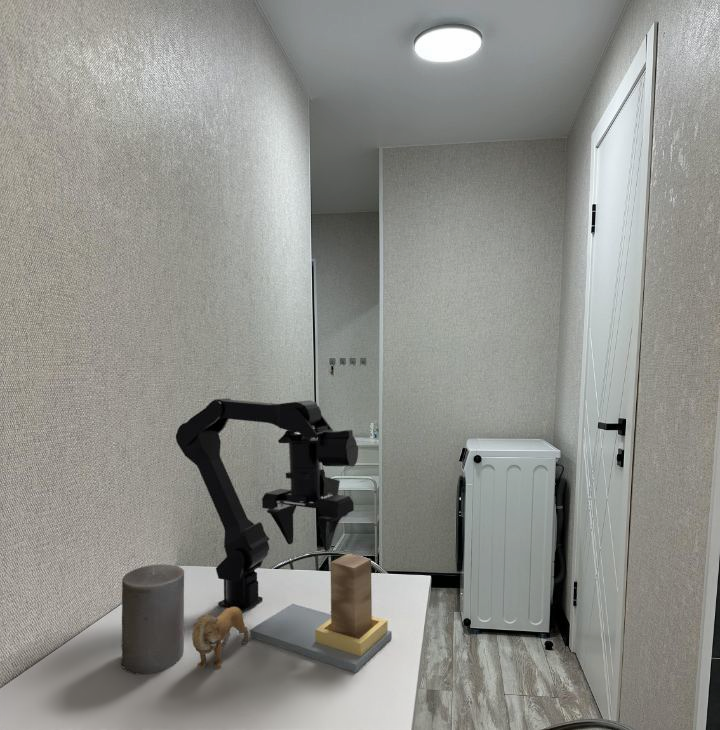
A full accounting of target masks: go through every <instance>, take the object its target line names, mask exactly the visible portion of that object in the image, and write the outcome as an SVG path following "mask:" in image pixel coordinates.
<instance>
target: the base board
mask: <svg viewBox="0 0 720 730" xmlns="http://www.w3.org/2000/svg"><path fill="white" fill-rule="evenodd" d="M388 623H389V621H388V619H384V618H380V617H376V616H372V628H371V629H370V630H369V631H368V632H367V633H366V634H364V635H363V636H362V637H361V638H360V639H356V638H353V637H349V636H346V635H343V634H339V633H336V632H333V631H331V613H327V612H323V611H320V610H316V609H312V608H309V607H306V606H302V605H300V604H299V605H298V604H296V603H291V604H290V605H288V606H286V607H284V608H283V609H281V610H280V611H278V612H276V613H275V614H273V615H272V616H270V617H269V618H267V619H265V620H264V621H262V622H260V623H259V624H257V625H256V626H254V627H252V628H250V629H249V637H250V638H254V639H255V640H258V641H262V642H266V643H268V644H271V645H272V646H273V645H274V646H276V647H279V648H282V649H285V650H288V651H291V652H295V653H297V654H300V655H303V656H306V657H309V658H311V659H314V660H317V661H320V662H323V663H327V664H329V665H332V666H334V667H335V666H336V667H338V668H341V669H344V670H347V671H349V672H353V673H356V672H357V671H358V670H360V669H361V668H362V667H363V666H364V665H365V664H366V663H367V662H368V661H369V660H370V659H371V658H372V657H374V656H375V655H376V654H377V653H378V652H379V651H380V650H381V649H382V648H384V646H385V645H386V644H387V643H388V642H389V641H390V640H392V638H393V637H392V635H393V634H392V633H393V632H392V631H391V630H388V629H389V628H388Z"/></svg>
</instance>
